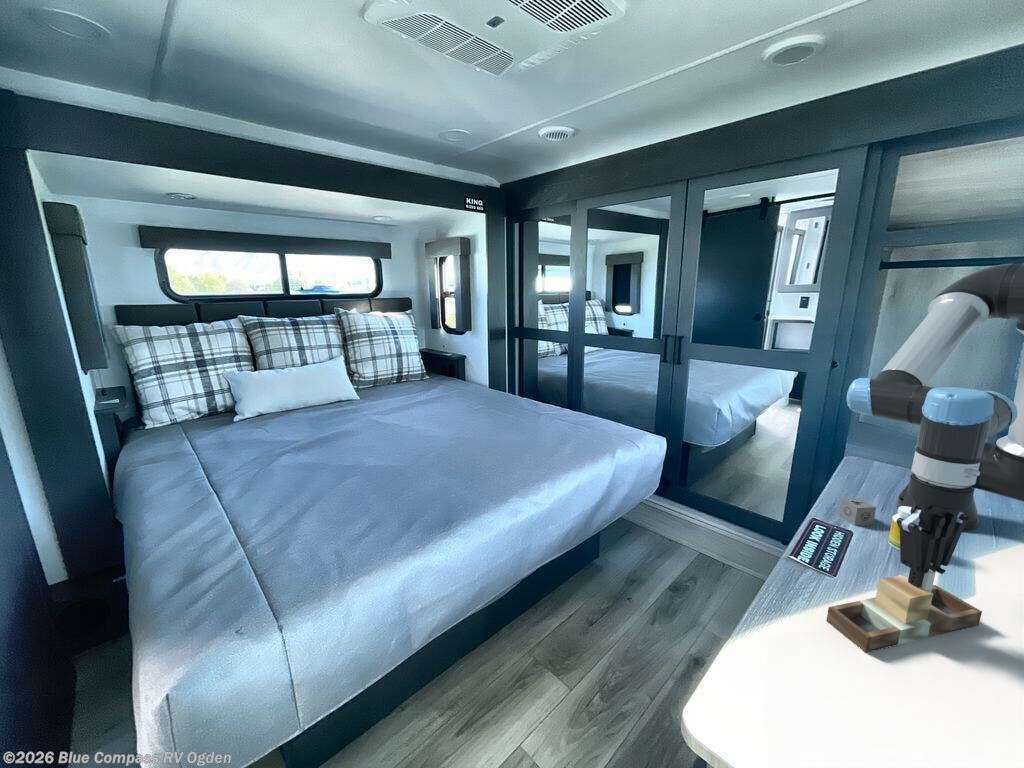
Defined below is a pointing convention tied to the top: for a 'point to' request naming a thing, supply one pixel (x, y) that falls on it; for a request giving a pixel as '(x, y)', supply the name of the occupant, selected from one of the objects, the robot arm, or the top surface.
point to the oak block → (903, 599)
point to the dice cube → (857, 511)
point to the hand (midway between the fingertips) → (916, 599)
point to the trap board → (883, 629)
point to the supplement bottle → (895, 531)
